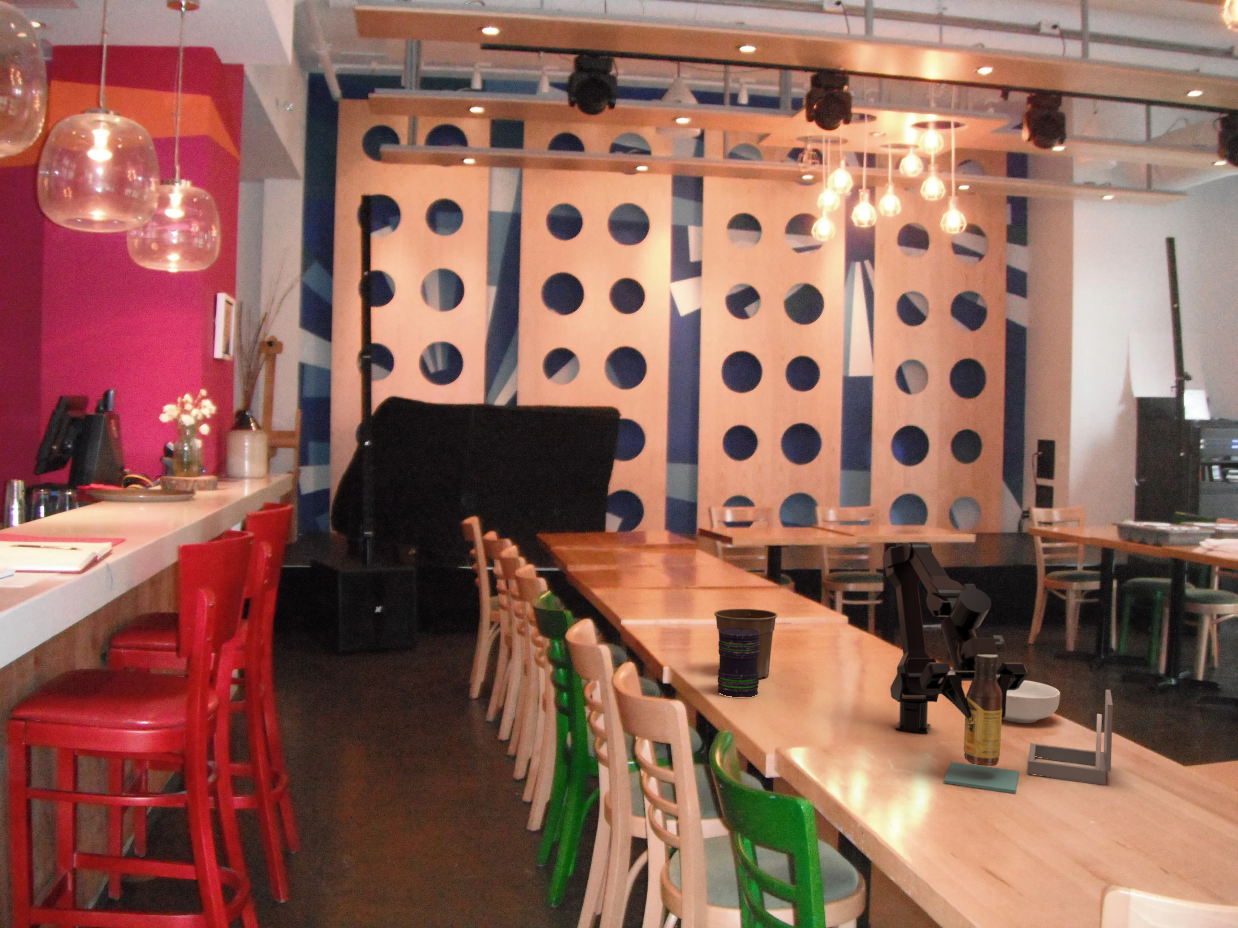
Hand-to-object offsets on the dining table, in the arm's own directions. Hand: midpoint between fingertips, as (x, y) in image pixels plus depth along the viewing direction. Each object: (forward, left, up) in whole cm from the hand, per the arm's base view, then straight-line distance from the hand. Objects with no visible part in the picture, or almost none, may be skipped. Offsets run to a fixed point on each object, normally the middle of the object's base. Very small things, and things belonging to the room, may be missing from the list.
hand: (986, 717), depth 188 cm
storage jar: (-43, -59, -12) cm, 74 cm away
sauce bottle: (-1, -1, -9) cm, 9 cm away
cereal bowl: (-50, +3, -12) cm, 51 cm away
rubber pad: (-1, -1, -12) cm, 12 cm away
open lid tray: (-14, +13, -12) cm, 23 cm away
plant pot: (-63, -64, -12) cm, 90 cm away
